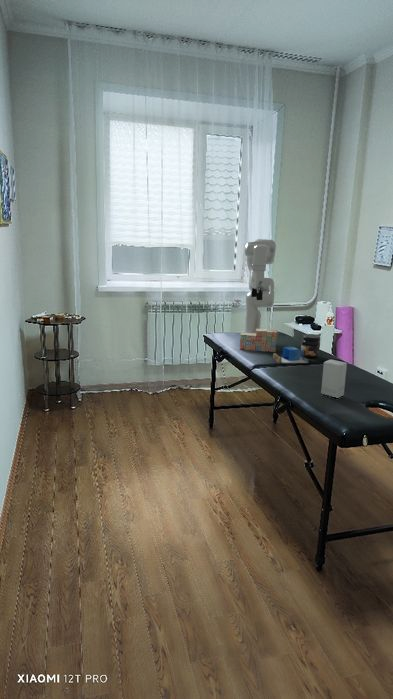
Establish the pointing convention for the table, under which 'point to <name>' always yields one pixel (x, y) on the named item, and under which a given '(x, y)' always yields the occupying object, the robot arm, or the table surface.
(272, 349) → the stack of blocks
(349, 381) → the table surface
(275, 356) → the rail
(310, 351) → the supplement container
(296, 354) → the perfume bottle
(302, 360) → the mat
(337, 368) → the skincare box
